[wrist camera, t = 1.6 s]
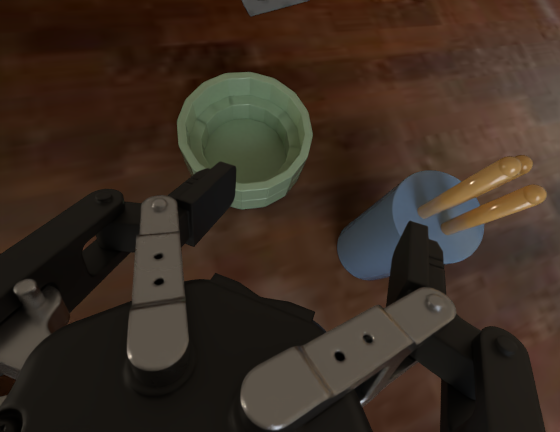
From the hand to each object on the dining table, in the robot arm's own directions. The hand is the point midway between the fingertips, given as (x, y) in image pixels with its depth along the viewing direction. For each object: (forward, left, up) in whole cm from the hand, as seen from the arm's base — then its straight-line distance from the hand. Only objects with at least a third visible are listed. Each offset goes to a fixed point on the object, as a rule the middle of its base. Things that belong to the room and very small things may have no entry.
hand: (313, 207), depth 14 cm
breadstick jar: (0, +9, -16) cm, 18 cm away
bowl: (-11, -2, -16) cm, 20 cm away
